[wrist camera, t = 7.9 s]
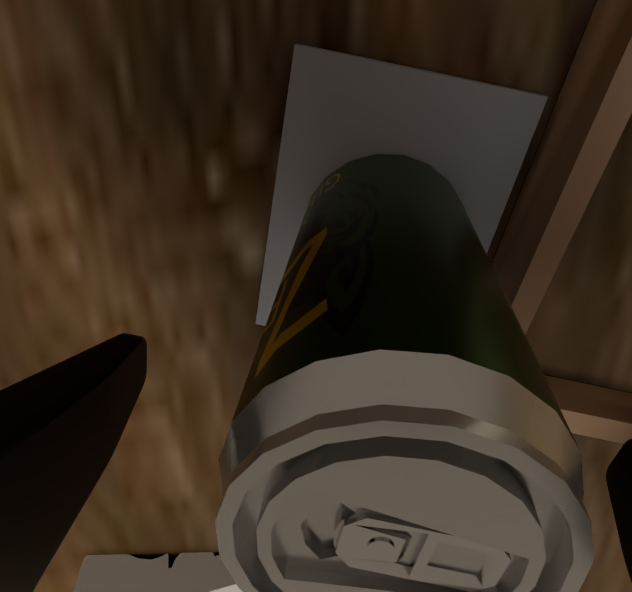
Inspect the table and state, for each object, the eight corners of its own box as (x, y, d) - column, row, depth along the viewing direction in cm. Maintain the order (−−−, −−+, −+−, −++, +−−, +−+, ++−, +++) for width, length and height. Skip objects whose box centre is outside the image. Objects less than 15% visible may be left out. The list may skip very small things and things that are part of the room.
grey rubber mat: (542, 93, 15) (548, 96, 14) (442, 354, 20) (444, 363, 19) (297, 43, 15) (294, 44, 14) (258, 315, 20) (255, 323, 19)
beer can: (486, 166, 16) (709, 461, 5) (435, 308, 18) (517, 690, 8) (319, 132, 16) (212, 359, 5) (293, 279, 18) (188, 622, 8)
